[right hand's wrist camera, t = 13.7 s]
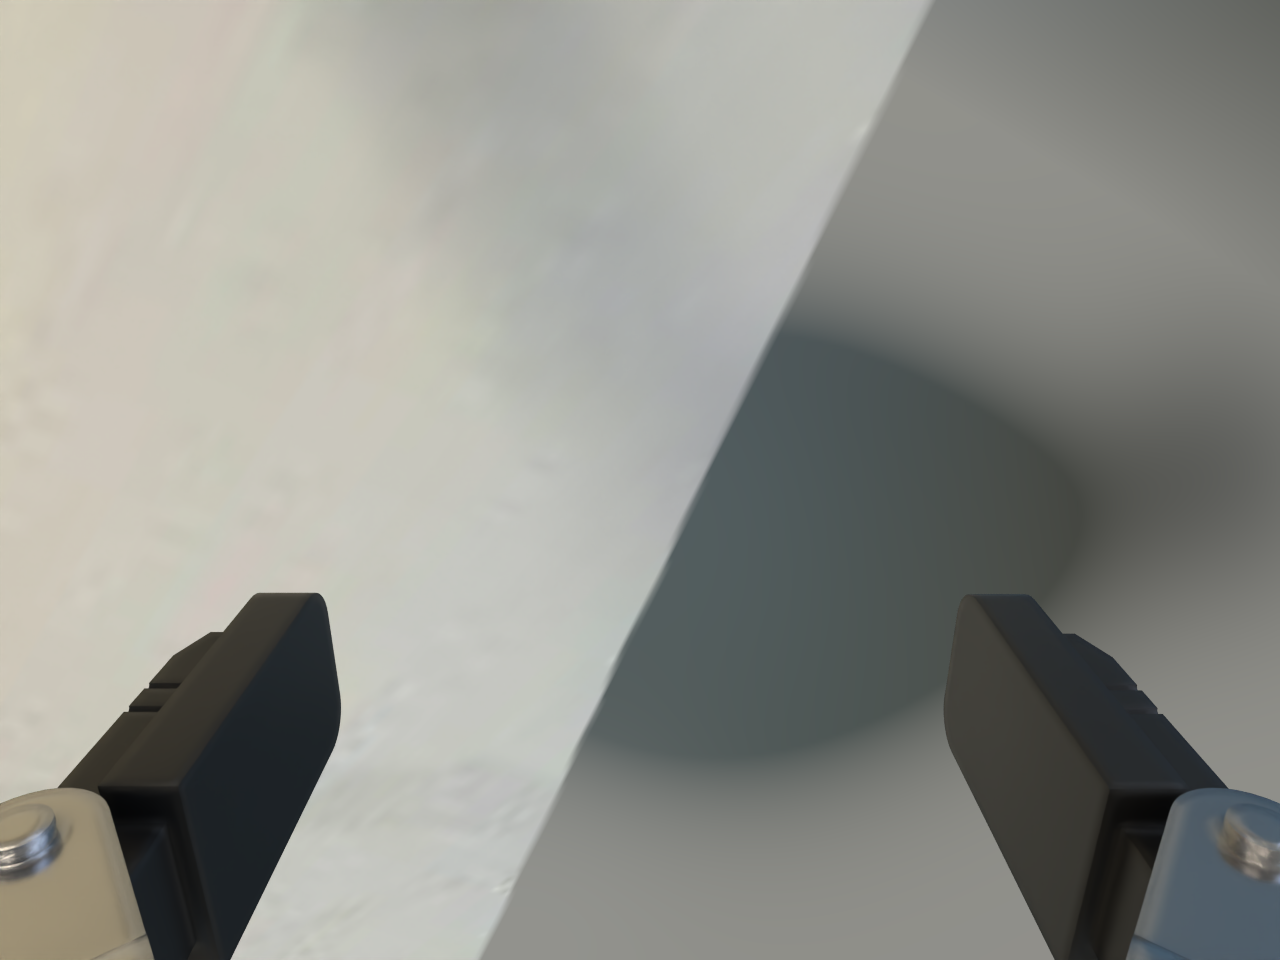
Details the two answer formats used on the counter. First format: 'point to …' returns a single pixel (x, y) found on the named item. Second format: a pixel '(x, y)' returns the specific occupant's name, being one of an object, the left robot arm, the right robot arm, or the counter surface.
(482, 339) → the counter surface
